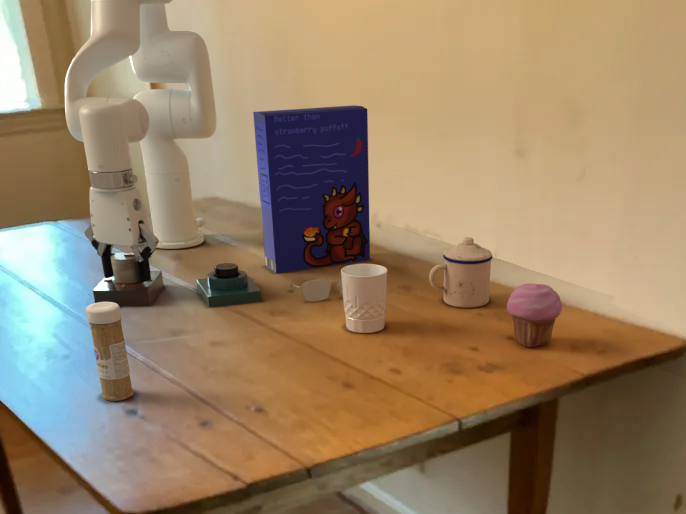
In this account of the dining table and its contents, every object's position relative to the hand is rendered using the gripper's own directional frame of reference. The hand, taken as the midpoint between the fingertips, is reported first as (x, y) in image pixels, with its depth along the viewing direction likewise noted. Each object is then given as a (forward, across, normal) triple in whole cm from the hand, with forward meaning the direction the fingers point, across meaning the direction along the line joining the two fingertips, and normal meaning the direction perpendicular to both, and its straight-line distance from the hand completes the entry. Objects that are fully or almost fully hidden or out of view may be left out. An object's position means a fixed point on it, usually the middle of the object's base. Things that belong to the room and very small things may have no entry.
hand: (127, 277), depth 171 cm
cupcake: (+4, -78, -6) cm, 78 cm away
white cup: (+4, -49, -2) cm, 49 cm away
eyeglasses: (+4, -34, -17) cm, 38 cm away
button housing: (+3, -17, -8) cm, 19 cm away
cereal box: (+4, -22, -35) cm, 42 cm away
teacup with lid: (+4, -59, -22) cm, 63 cm away
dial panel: (+3, 0, 0) cm, 3 cm away
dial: (0, 0, 0) cm, 0 cm away
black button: (0, -17, -8) cm, 19 cm away
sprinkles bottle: (+4, -29, +40) cm, 50 cm away
